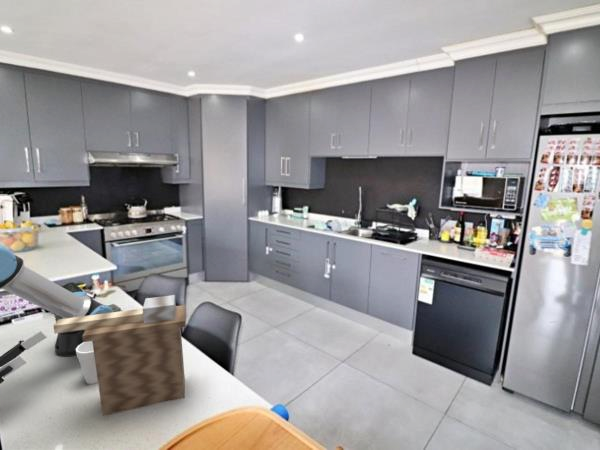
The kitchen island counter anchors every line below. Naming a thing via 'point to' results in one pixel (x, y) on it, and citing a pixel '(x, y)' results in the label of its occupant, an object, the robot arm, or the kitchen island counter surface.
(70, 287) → the squash
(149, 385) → the walnut stand
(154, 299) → the mallet
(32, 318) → the kitchen island counter surface
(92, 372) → the foam cup
